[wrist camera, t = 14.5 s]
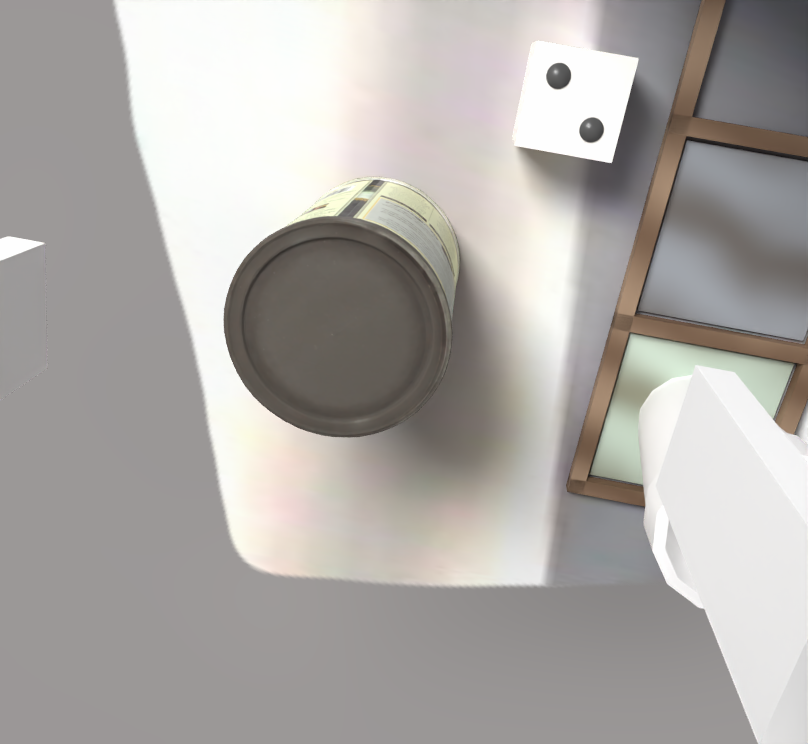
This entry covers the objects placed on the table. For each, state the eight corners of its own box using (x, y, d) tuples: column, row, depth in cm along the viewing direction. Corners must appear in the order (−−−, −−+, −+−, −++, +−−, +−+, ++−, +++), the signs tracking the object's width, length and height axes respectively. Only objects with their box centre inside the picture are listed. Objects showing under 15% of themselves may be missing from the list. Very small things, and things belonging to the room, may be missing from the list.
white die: (531, 43, 42) (536, 40, 37) (622, 59, 42) (639, 58, 37) (512, 137, 44) (514, 145, 39) (598, 153, 44) (611, 163, 39)
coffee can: (398, 370, 50) (366, 478, 37) (265, 278, 48) (182, 355, 35) (496, 243, 46) (499, 312, 33) (355, 139, 45) (300, 168, 32)
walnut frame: (737, -129, 38) (742, -133, 37) (992, -87, 38) (1002, -90, 37) (566, 485, 51) (567, 491, 51) (752, 521, 51) (756, 528, 50)
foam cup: (710, 508, 51) (778, 644, 39) (586, 449, 50) (616, 569, 38) (798, 390, 47) (903, 500, 35) (665, 325, 47) (727, 415, 35)
